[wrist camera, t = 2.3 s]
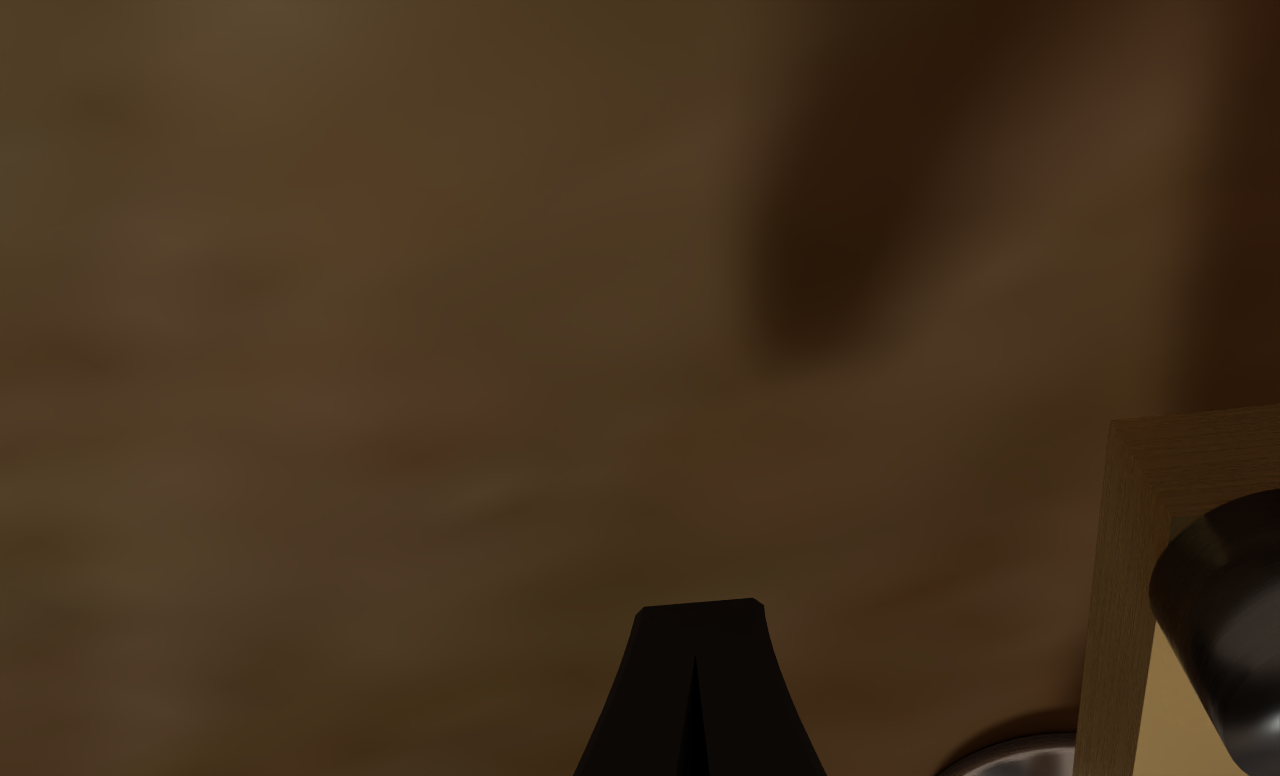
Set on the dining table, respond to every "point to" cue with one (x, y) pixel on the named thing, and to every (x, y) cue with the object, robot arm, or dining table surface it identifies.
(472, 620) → the dining table surface
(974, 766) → the pivot post
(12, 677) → the dining table surface
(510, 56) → the dining table surface
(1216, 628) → the brass drawer handle
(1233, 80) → the dining table surface
